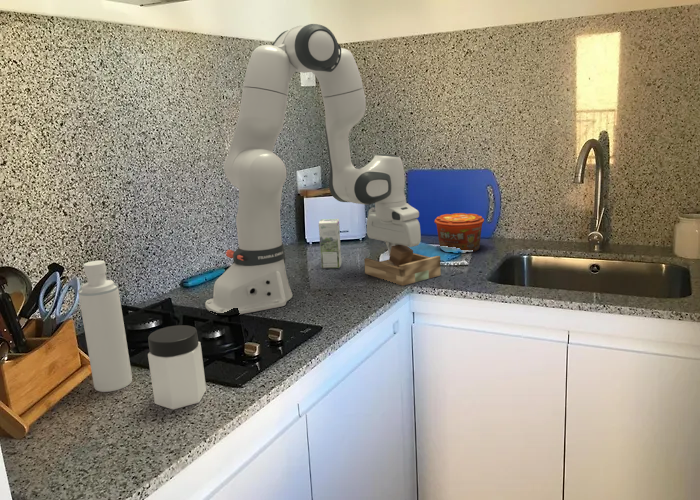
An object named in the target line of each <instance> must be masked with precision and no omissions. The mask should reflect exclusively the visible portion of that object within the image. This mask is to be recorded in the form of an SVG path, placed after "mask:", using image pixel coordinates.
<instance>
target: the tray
mask: <svg viewBox="0 0 700 500" xmlns="http://www.w3.org/2000/svg"><path fill="white" fill-rule="evenodd" d="M363 260H364V261H363V262H364V273H365V274H366V275H369V276H371V277H375V278H376V279H377V278H378V279H381V280H383V279H384V281H386V280H387V281H386V282H389V281H390V283H392V282H393V284H395V283H396V285H398V286H406V285H410V284H411V285H412V284H415V283H417V282H422V281H425V280H429V279H433V278H435V277H436V278H437V277H439V276H441V275H442V274H441V270H442V269H441V268H442V267H441V256H440V255H435V256H427V255H424V254H423V255H422V254H419V253H415V252H413V255H412V261H411V262H410V263H406V264H402V265H399V267H398V266H396V265H395V264H394V263H392V262H391V261H390V260H389V259H386V260H382V261H378V260H375V259H371V258H369V257H366V258H364V259H363Z"/></svg>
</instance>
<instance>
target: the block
mask: <svg viewBox="0 0 700 500" xmlns="http://www.w3.org/2000/svg"><path fill="white" fill-rule="evenodd" d="M413 253H414V249H412V248H411V247H408V246H403V245H395V246H391V252H390V256H389V259H388V260H390V261H391V262H392V263H394V264H395V265H396V266H398V267H399V265H402V264H406V263H410V262H411V261H412V255H413Z"/></svg>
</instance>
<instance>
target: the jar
mask: <svg viewBox="0 0 700 500" xmlns="http://www.w3.org/2000/svg"><path fill="white" fill-rule="evenodd" d="M198 335H199V334H198V330H197V328H195V327H194V326H191V325H184V324H183V325H182V324H180V325H179V324H178V325H170V326H165V327H163V328H159V329H156V330H154V331H153V332H151V333H150V334H149V335H148V337H147V339H148V340H147V341H148V347H149V352H148V353H147V358H148V360H147V361H148V364H149V366H148V367H149V372H150V378H151V379H150V380H151V385H152V394H153V401H154V404H155V405H158V406H161V407H162V408H167V409H170V410H172V411H175V410H177V409H181V408H184V407H188V406H191V405H195V404H199V403H200V402H201V400H202V398H203V397H204V395H205V393H206V392H207V386H206V377H205V375H206V374H205V369H204V361H203V351H202V345H201V343H202V342H201V341H199V337H198Z"/></svg>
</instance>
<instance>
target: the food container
mask: <svg viewBox="0 0 700 500" xmlns="http://www.w3.org/2000/svg"><path fill="white" fill-rule="evenodd" d="M433 222H434V224H435V225H436V230H437V231H436V232H437V238H438V243H439V244H438V245H440V246H448V247H456V248H460V249H461V250H473V252H472V253H475V252H477V251H479V250H480V246H481V236H482V230H483V224H484V222H485V219H484V217H483V216H482V215H479V214H476V213H465V212H459V213H458V212H457V213H456V212H455V213H451V214H450V213H445V214H441V215H439V216H437V217H436V218H435V219H434V221H433ZM440 246H439V247H440Z"/></svg>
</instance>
